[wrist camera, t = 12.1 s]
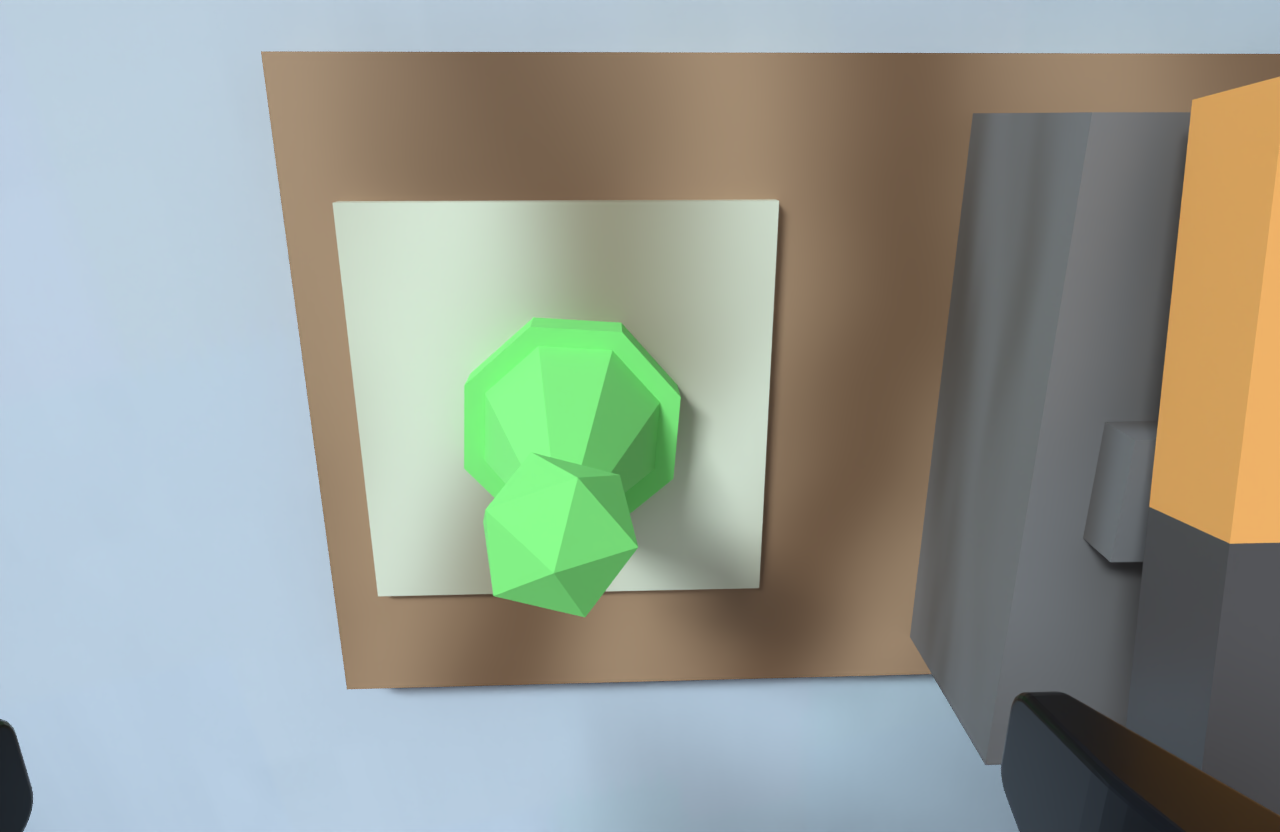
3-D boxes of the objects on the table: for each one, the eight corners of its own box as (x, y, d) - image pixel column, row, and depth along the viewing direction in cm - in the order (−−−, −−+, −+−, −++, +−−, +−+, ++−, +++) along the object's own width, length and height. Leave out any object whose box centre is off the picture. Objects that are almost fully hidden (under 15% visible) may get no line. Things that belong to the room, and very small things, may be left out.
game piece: (623, 550, 18) (632, 753, 12) (427, 467, 17) (340, 643, 11) (721, 370, 17) (783, 502, 11) (516, 272, 16) (468, 360, 10)
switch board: (359, 662, 20) (266, 868, 14) (281, 55, 16) (107, 22, 10) (1239, 640, 21) (1466, 828, 15) (1395, 57, 16) (1790, 28, 11)
